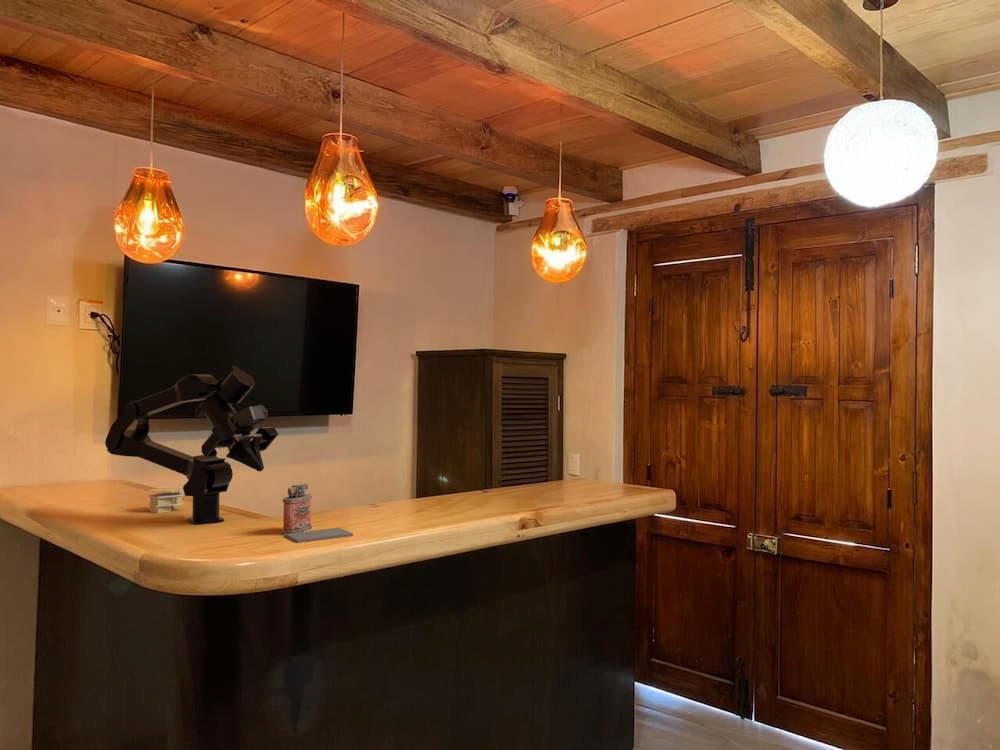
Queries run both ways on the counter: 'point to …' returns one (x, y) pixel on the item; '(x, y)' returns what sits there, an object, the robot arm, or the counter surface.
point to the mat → (318, 535)
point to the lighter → (297, 510)
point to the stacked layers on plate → (165, 500)
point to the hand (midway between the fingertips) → (261, 470)
